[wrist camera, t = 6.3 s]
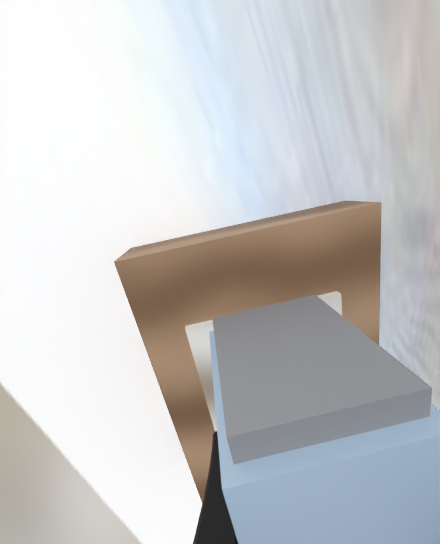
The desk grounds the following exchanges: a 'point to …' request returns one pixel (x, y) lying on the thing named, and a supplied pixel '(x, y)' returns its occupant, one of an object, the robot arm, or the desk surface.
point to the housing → (321, 431)
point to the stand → (244, 296)
